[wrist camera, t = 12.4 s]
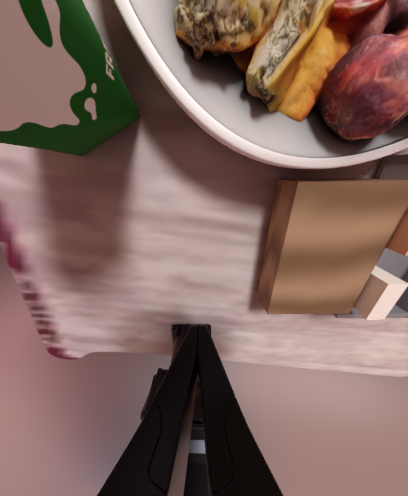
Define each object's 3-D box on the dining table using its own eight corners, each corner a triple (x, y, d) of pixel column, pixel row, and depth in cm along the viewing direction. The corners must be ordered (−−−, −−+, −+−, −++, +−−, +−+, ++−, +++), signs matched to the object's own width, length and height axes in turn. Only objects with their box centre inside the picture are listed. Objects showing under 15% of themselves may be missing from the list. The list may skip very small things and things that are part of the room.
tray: (388, 300, 24) (412, 317, 21) (321, 301, 24) (336, 317, 21) (486, 155, 15) (547, 151, 13) (383, 156, 15) (422, 152, 13)
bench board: (326, 291, 23) (348, 313, 19) (257, 291, 23) (267, 313, 19) (374, 178, 16) (422, 180, 13) (277, 179, 16) (298, 182, 13)
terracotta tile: (355, 235, 18) (372, 235, 18) (404, 255, 14) (427, 255, 14) (375, 190, 16) (395, 190, 16) (441, 197, 12) (468, 197, 12)
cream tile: (332, 289, 22) (347, 289, 22) (366, 319, 17) (384, 319, 17) (346, 258, 20) (362, 258, 20) (388, 284, 15) (409, 284, 15)
